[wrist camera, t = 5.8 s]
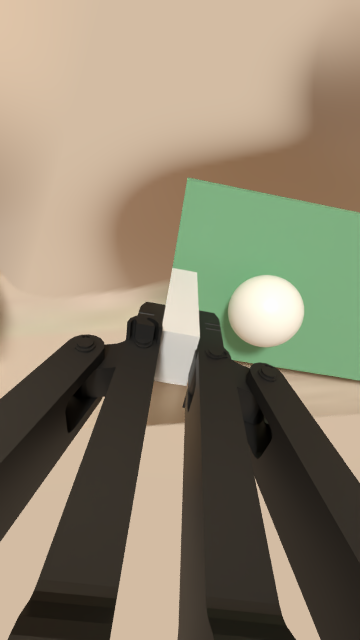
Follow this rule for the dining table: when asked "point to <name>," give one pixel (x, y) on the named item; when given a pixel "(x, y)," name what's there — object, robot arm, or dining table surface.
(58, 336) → the dining table surface
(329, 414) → the dining table surface
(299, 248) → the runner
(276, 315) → the ball
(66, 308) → the dining table surface
